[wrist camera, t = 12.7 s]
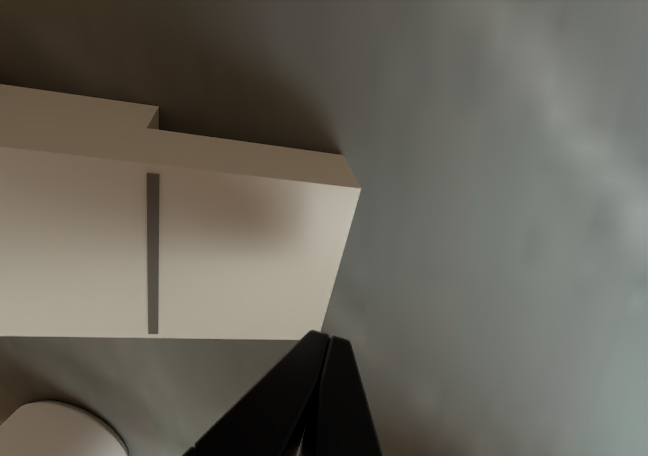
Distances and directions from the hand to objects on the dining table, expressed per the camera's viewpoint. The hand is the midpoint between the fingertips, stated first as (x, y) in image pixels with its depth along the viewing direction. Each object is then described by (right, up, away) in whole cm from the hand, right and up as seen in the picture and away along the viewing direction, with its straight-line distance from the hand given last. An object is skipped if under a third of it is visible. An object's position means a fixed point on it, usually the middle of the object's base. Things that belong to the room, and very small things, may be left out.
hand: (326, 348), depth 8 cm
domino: (0, +2, +3) cm, 4 cm away
